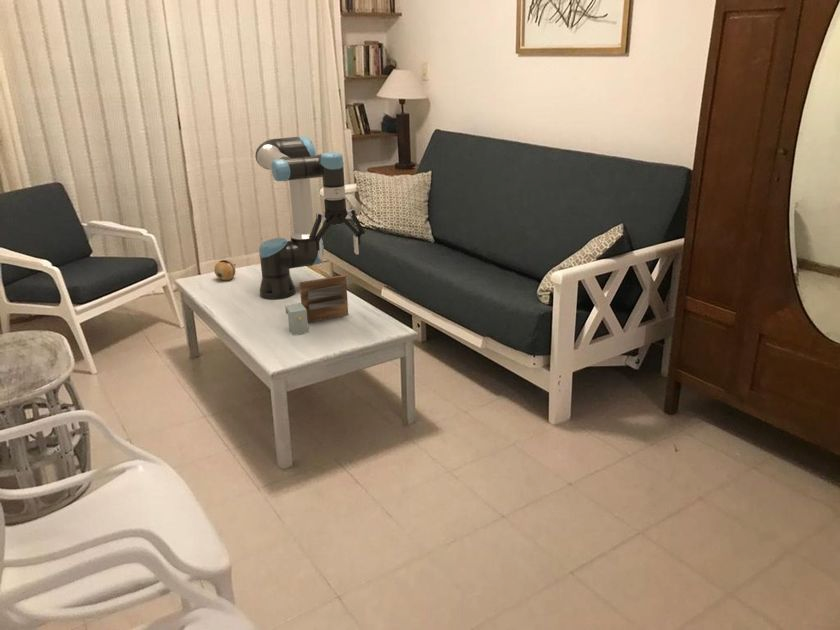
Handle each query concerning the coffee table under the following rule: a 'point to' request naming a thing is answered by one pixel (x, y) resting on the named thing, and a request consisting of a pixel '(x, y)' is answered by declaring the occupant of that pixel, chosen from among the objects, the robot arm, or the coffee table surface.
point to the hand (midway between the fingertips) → (338, 256)
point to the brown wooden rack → (324, 297)
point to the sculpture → (225, 270)
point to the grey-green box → (297, 318)
